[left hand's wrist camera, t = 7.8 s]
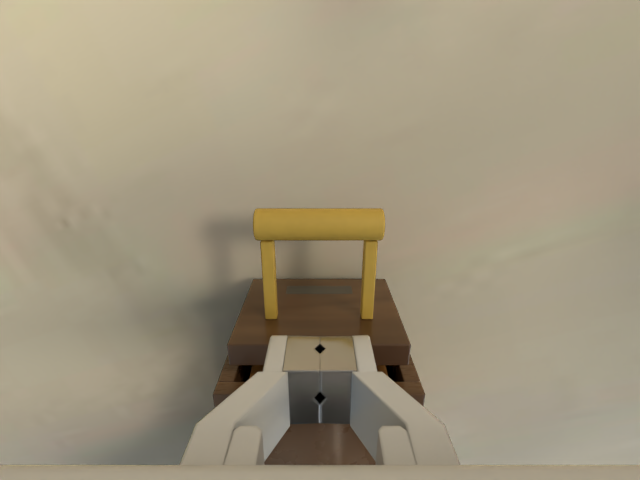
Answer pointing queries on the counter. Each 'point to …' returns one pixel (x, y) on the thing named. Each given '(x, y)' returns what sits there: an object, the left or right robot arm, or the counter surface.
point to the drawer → (318, 290)
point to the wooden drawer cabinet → (318, 424)
